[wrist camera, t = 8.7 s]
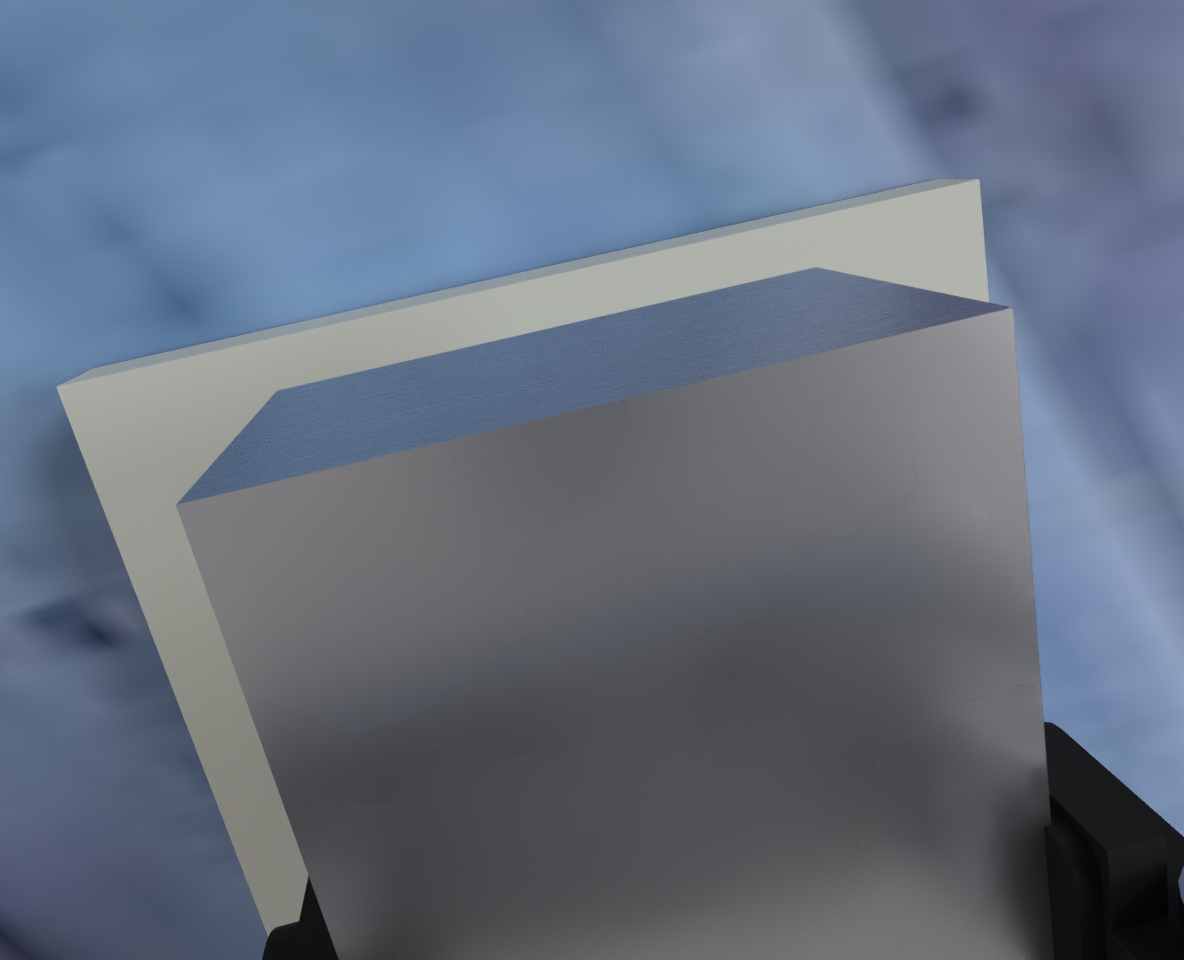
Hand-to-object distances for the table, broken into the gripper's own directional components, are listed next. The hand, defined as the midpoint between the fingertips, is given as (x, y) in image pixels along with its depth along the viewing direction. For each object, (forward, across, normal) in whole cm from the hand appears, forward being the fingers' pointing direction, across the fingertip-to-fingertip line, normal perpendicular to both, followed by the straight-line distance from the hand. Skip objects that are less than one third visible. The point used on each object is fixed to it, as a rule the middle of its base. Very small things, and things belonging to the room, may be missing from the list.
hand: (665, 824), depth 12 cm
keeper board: (+6, 0, +2) cm, 7 cm away
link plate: (+1, 0, +2) cm, 2 cm away
